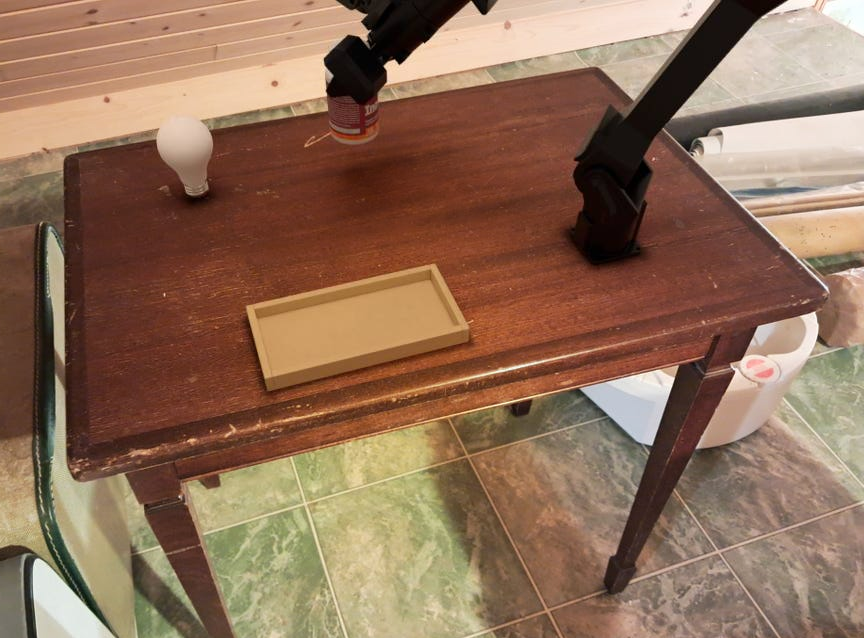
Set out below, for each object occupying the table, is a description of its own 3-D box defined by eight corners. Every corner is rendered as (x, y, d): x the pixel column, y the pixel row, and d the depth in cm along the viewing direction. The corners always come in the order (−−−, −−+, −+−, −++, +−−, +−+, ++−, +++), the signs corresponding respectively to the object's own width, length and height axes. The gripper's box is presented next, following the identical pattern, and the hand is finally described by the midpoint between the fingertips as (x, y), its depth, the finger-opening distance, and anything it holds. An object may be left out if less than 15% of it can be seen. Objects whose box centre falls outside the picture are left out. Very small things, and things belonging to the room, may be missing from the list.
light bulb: (228, 180, 96) (211, 103, 87) (219, 211, 91) (201, 134, 83) (178, 180, 96) (157, 104, 87) (167, 211, 92) (144, 134, 83)
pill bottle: (376, 147, 88) (372, 60, 80) (326, 145, 89) (317, 59, 80) (382, 120, 92) (379, 34, 84) (334, 118, 93) (327, 33, 84)
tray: (434, 276, 83) (435, 262, 81) (468, 341, 76) (470, 328, 75) (248, 319, 79) (245, 305, 77) (267, 391, 72) (264, 378, 71)
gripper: (414, -99, 77) (331, -7, 89) (333, -33, 66) (251, 61, 78) (478, -11, 81) (391, 66, 92) (411, 65, 70) (322, 141, 81)
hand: (341, 80), depth 86 cm, fingers closed on pill bottle, 6 cm apart
